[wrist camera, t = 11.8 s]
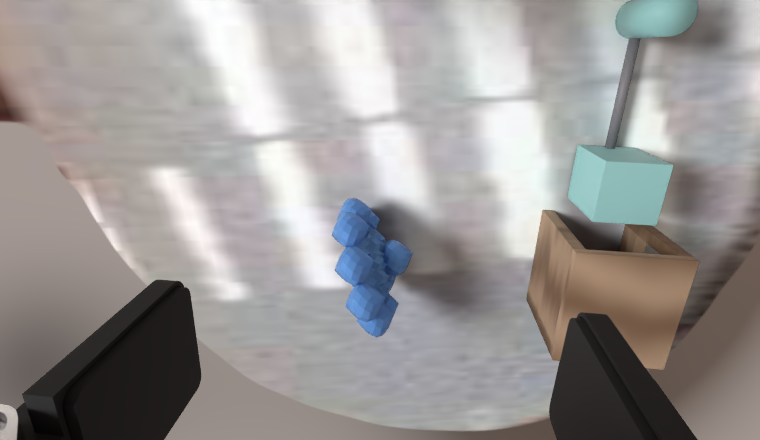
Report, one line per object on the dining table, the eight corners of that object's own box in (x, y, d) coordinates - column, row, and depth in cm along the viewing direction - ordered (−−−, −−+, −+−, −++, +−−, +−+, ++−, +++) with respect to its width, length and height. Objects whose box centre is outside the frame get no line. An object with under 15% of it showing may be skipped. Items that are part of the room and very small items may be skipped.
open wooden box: (542, 209, 42) (576, 252, 33) (638, 215, 42) (699, 261, 33) (526, 299, 46) (552, 360, 37) (614, 305, 45) (663, 369, 36)
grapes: (429, 277, 46) (432, 349, 35) (368, 292, 47) (352, 366, 36) (396, 175, 42) (388, 218, 31) (332, 193, 44) (301, 242, 33)
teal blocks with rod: (607, -3, 35) (645, -14, 29) (671, -1, 35) (723, -12, 29) (567, 197, 42) (592, 221, 36) (621, 200, 41) (656, 225, 35)
